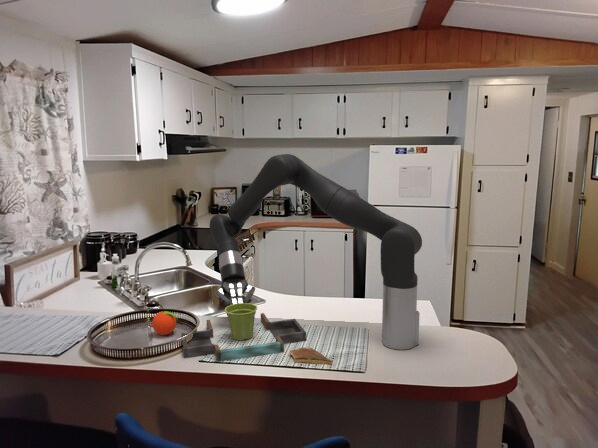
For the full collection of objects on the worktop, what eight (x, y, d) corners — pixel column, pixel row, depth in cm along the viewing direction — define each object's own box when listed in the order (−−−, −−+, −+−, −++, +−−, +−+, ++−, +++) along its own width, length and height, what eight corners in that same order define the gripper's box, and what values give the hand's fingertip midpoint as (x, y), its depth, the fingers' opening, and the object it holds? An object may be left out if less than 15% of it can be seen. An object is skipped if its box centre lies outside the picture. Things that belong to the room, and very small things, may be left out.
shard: (333, 366, 117) (333, 360, 117) (308, 374, 113) (308, 368, 113) (309, 351, 126) (309, 345, 126) (285, 358, 122) (285, 351, 122)
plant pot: (219, 340, 132) (218, 311, 131) (235, 328, 141) (234, 301, 139) (249, 345, 129) (248, 315, 127) (263, 332, 138) (262, 304, 136)
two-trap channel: (287, 317, 149) (287, 310, 149) (311, 347, 127) (311, 339, 126) (180, 331, 139) (179, 323, 139) (185, 366, 117) (184, 357, 116)
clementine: (184, 330, 140) (182, 308, 139) (173, 339, 133) (172, 316, 132) (159, 328, 141) (158, 306, 140) (148, 337, 135) (146, 314, 133)
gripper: (211, 263, 143) (218, 315, 133) (253, 260, 146) (262, 310, 137) (210, 275, 149) (216, 325, 139) (250, 272, 152) (259, 320, 143)
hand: (239, 317), depth 138 cm, fingers closed
